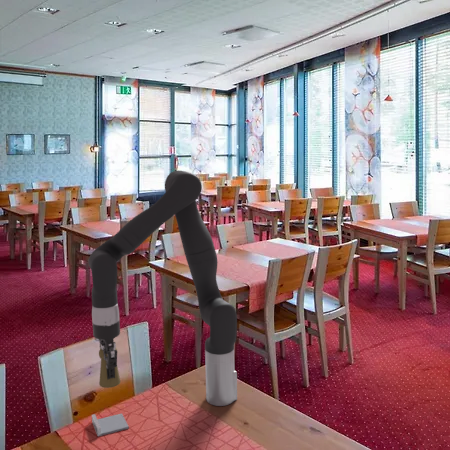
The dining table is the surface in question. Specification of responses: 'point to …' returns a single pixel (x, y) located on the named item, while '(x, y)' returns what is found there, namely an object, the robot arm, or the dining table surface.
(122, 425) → the slate shelf board
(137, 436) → the dining table surface
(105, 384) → the cork
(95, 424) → the rail
